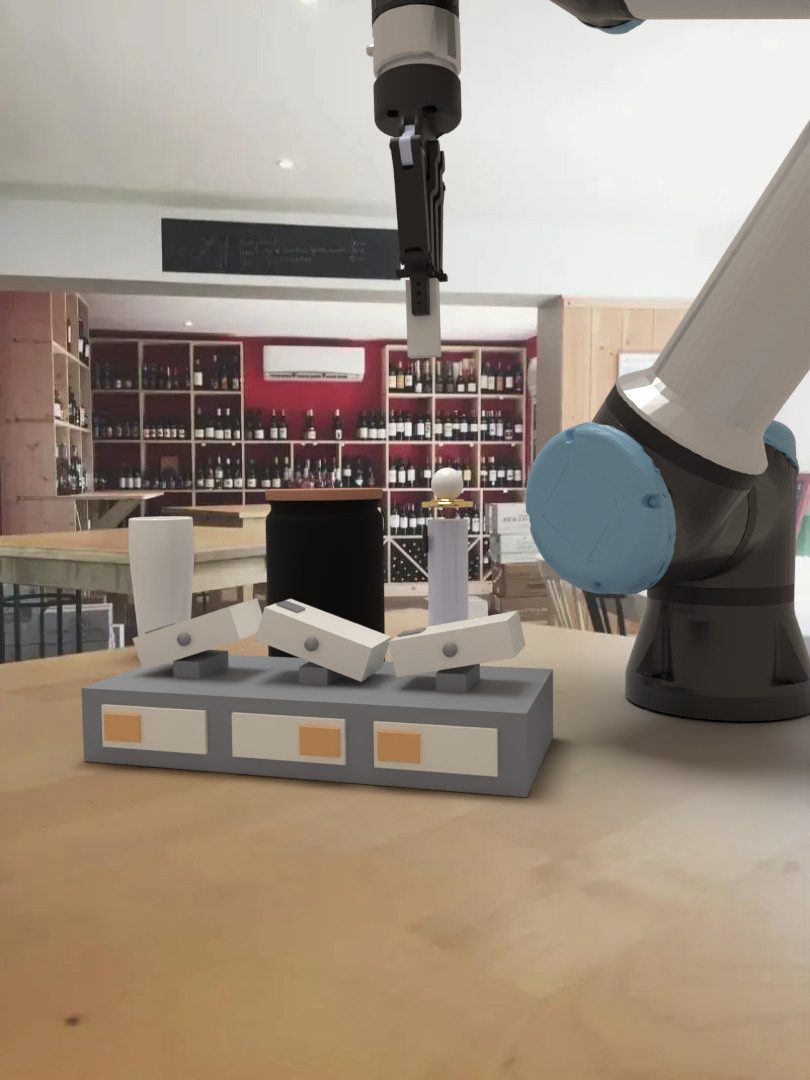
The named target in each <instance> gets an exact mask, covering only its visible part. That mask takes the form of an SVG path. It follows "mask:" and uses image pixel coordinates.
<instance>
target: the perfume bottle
mask: <svg viewBox="0 0 810 1080" xmlns="http://www.w3.org/2000/svg"><path fill="white" fill-rule="evenodd" d="M430 483H431V484H430V486H431V491H432V492H433V494H434V496H435V497H436V498H438V499H436V498H435V499H431V500H430V501H422V502H421V508H427V509H428V508H431V509H434V508H438V509H439V508H440V509H441V508H443V509H446V508H447V509H448V508H454V509H455V508H473V507H474V501H467V500H466V501H465V499H464V498H462V499H461V498H459V499H458V497H459V496H460V495H461V493H462V492H463V489H464V479H463V477H462V475H461V473H460V472H459V471H458V470H456V469H455V468H452V467H443V468H440V469H439V470H437V471H436V472H435V473H434V474H433V476H432V478H431V482H430ZM426 527H427V530H426V531H425V529H426ZM424 532H425V533H424ZM421 535H422V536H421V537H422V538H421V539H422V540H421V541H422V542H421V543H422V547H421V548H422V549H421V550H422V551H421V552H422V553H424V555H425V560H427V591H428V592H427V597H428V605H427V606H428V608H427V609H428V627H429V626H435V625H441V624H446V623H452V622H457V621H463V620H468V619H470V617H469V614H470V613H469V519H467V518H433V519H427V526H426V524H425V525H424V528H423V531H422V534H421Z"/></svg>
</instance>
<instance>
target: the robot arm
mask: <svg viewBox="0 0 810 1080" xmlns="http://www.w3.org/2000/svg"><path fill="white" fill-rule="evenodd" d="M549 1H550V2H552V3H553V4H555V5H556V6H558V7H559V8H561V9H562V10H564V11H566V13H567V12H568V13H569V14H570V15H572V16H573V17H575V18H576V19H577V20H578V21H579V22H580V23H581V24H583V25H585V26H586V27H588V28H592V29H595V30H599V31H601V32H603V33H606V34H609V35H623V34H627V33H629V32H630V31H633V29H636V27H639V26H640V25H642V24H643V23H644V22H646V21H647V20H654V21H655V20H659V21H660V20H810V0H549ZM370 2H371V6H370V7H371V29H372V38H373V43H369V44H367V45H366V48H365V51H366V52H365V53H366V55H367V56H368V57H372V64H373V65H372V67H373V71H372V72H373V76H374V78H375V81H374V82H373V85H372V87H373V88H372V89H373V115H374V116H373V117H374V120H373V121H374V124H375V126H376V128H377V129H378V130H379V131H380V132H381V133H383V134H385V135H386V136H388V137H390V140H389V143H388V146H389V150H390V154H391V162H392V169H393V170H392V172H393V183H394V195H395V207H396V208H395V210H396V222H397V235H398V236H397V238H398V249H399V250H398V251H399V252H398V253H399V254H398V260H399V263H400V264H401V266H404V267H403V268H400V269H395V275H396V279H405V280H404V281H405V304H406V305H405V308H406V310H405V311H406V315H405V316H406V341H407V342H406V343H407V344H406V346H407V349H406V350H407V357H408V358H409V359H424V358H425V359H426V358H428V359H430V358H441V357H442V337H441V335H442V334H441V330H442V329H441V304H440V303H441V301H440V300H441V297H440V283H445V282H446V283H447V282H448V281H449V276H448V274H447V273H446V272H445V273H444V269H443V268H444V266H443V263H444V261H443V260H444V259H443V258H444V257H443V256H444V255H443V254H444V251H443V250H444V202H445V193H446V190H447V188H446V184H445V182H444V180H443V175H444V173H445V171H446V156H445V152H444V150H441V145H440V140H439V138H440V137H443V135H445V134H446V135H449V134H450V133H451V132H453V131H454V130H456V129H457V128H458V126H459V125H460V124H461V122H462V117H463V114H462V111H463V109H462V81H461V79H460V78H459V76H460V75H461V71H462V51H461V50H462V47H461V46H462V45H461V23H460V22H461V21H460V0H370ZM408 278H409V279H408ZM809 371H810V119H809V120H808V121H807V122H806V125H805V126H804V128H803V129H802V130H801V132H800V134H799V135H798V137H797V139H796V140H795V141H794V143H793V145H792V147H791V148H790V149H789V151H788V153H787V154H786V156H785V158H784V159H783V161H782V162H781V164H780V165H779V167H778V169H777V170H776V172H775V173H774V174H773V176H772V178H771V179H770V181H769V182H768V184H767V186H765V189H764V190H763V192H762V193H761V195H760V197H759V198H758V200H757V201H756V203H755V204H754V205H753V207H752V209H751V211H750V213H748V215H747V217H746V218H745V220H744V221H743V223H742V225H741V226H740V228H739V230H738V231H737V233H736V235H735V236H734V237H733V239H732V240H731V242H730V244H729V245H728V246H727V248H726V250H725V252H724V253H723V255H721V258H720V259H719V261H718V262H717V264H716V266H715V267H714V269H713V271H711V273H710V274H709V276H708V278H707V280H706V281H705V283H704V284H703V286H702V288H701V289H700V291H699V292H698V293H697V296H696V297H695V299H694V300H693V302H692V303H691V305H690V306H689V308H688V309H687V310H686V312H685V314H684V315H683V317H682V319H681V320H680V322H679V324H678V325H677V327H676V328H675V329H674V331H673V333H672V334H671V336H670V338H669V339H668V341H667V342H666V344H665V345H664V347H663V349H662V350H661V352H660V353H659V355H658V357H657V358H656V360H655V361H654V363H653V364H652V365H651V366H649V367H648V368H644V369H640V370H635V371H632V372H627V373H623V374H622V375H620V376H619V378H618V379H617V380H616V381H615V383H614V385H613V386H612V388H611V390H610V391H609V393H608V395H607V396H606V397H605V399H604V401H602V404H601V405H600V407H599V409H598V410H597V411H596V413H595V415H594V416H593V419H591V421H587V422H586V421H584V422H582V423H580V424H579V423H578V424H577V425H574V426H570V427H569V428H567V429H565V430H562V431H560V432H558V433H557V434H555V435H554V436H553V437H551V438H550V439H549V440H548V442H546V443H545V444H544V446H543V447H542V448H541V449H540V450H539V452H538V454H537V455H536V457H535V459H534V461H533V463H532V466H531V468H530V470H529V471H530V472H529V474H528V477H527V482H526V488H525V512H526V514H527V515H528V516H529V523H530V526H529V531H530V535H531V537H532V540H533V542H534V544H535V546H536V549H537V550H538V552H539V554H540V556H541V557H542V559H543V561H545V563H546V564H547V566H549V568H550V569H551V570H552V571H553V572H554V573H555V574H556V575H558V577H559V578H561V579H562V580H564V581H565V582H567V583H568V584H569V585H571V586H573V587H575V588H577V589H580V590H582V591H585V592H589V593H592V594H603V595H605V594H611V595H612V594H616V595H634V594H638V593H642V592H644V591H646V606H645V610H644V614H643V616H642V619H641V622H640V625H639V629H638V632H637V634H636V637H635V640H634V644H633V647H632V649H631V652H630V655H629V657H628V658H629V659H628V661H627V664H626V667H625V675H624V676H625V677H624V681H625V683H624V684H625V685H624V686H625V687H624V688H625V689H624V690H625V691H624V693H625V694H624V695H625V697H626V698H627V700H629V701H630V702H631V703H633V704H635V705H637V706H639V707H642V708H645V709H649V710H651V711H654V712H655V711H656V712H660V713H664V714H670V715H674V716H679V717H685V718H692V719H693V718H694V719H702V720H715V721H732V722H756V721H758V722H759V721H760V722H762V721H763V722H764V721H765V722H766V721H776V720H777V721H778V720H785V719H791V718H797V717H800V716H801V717H803V716H804V715H808V714H809V713H810V655H809V652H808V648H807V645H806V643H805V640H804V636H803V634H802V631H801V628H800V624H799V622H798V621H799V620H798V618H797V614H796V610H795V592H796V591H795V585H796V584H795V583H796V547H797V545H796V544H797V543H796V542H797V506H798V505H797V504H798V503H797V502H798V496H797V495H798V476H799V475H800V474H799V472H800V465H799V461H798V458H797V442H796V441H797V440H796V437H795V435H794V433H793V431H792V430H791V429H790V428H789V427H788V426H787V425H786V424H784V423H782V422H781V421H777V420H774V419H776V416H777V415H778V414H779V412H780V411H781V410H782V408H783V407H784V406H785V404H786V403H787V402H788V400H789V399H790V398H791V396H792V395H793V393H794V392H795V390H796V389H797V388H798V386H799V385H800V384H801V382H802V381H803V380H804V379H805V377H806V376H807V374H808V373H809Z"/></svg>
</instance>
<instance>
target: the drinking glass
mask: <svg viewBox="0 0 810 1080" xmlns="http://www.w3.org/2000/svg"><path fill="white" fill-rule="evenodd" d="M127 530H128V533H127V535H128V558H129V560H128V561H129V567H130V568H129V570H130V579H131V585H132V594H133V601H134V602H133V603H134V612H135V618H136V628H137V637H138V636H141V635H144V634H146V633H145V632H147V631H151V630H154V629H157V628H160V627H163V626H166V625H169V624H173V623H175V624H178V623H181V622H184V621H187V620H190V619H192V604H193V603H192V600H193V585H194V568H195V533H194V531H195V530H194V521H193V517H192V516H179V515H178V516H174V515H173V516H142V517H141V516H139V517H130V518H128V529H127Z"/></svg>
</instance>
